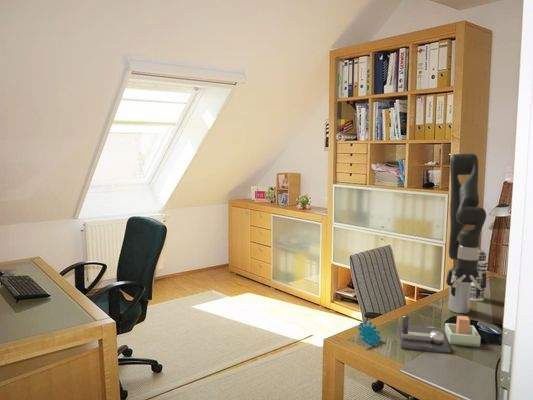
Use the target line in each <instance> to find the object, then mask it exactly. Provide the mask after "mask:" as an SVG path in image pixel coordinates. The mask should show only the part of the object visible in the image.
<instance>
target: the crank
mask: <svg viewBox="0 0 533 400" xmlns="http://www.w3.org/2000/svg"><path fill="white" fill-rule="evenodd" d="M409 321H410V317H409V315H405V314H404V315H403V316H402V324H403V325H402V338H410V339H420V340H430V341H431V342H433V343H436V344H442V343H443V342H444V336H445V333H444V332H443V331H442V332H443V333H442V332H439V331H431V332H430V334H428V333H418V332H408V325H409Z"/></svg>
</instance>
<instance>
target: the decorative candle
mask: <svg viewBox="0 0 533 400" xmlns="http://www.w3.org/2000/svg"><path fill="white" fill-rule="evenodd" d="M487 265H488V262H487V253H486V252H485V251H484V250H482V249H479V258H478V270H477V271H478V272H484V273H485V274H486V275H487V269H486V268H488V266H487ZM475 280H476V281H477V283H478V284H481V278H480V276H479V275H478V277H477V278H476V279H475ZM475 288H476V286H475V284H474V283H473V282H471V295H470V301H476V302H480V301H481V302H482V301H484V300H485V292H484V291H485V289H486V288H481V290H480V297H478V298H476V297H475Z"/></svg>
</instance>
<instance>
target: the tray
mask: <svg viewBox="0 0 533 400" xmlns="http://www.w3.org/2000/svg"><path fill="white" fill-rule="evenodd" d="M456 324H457V323H449V322H447V323H446V322H445V324H444V335H445V337H446V339H447V342H448V344H450V345H456V346H457V345H459V346H466V347H467V346H470V347H481V335H480V334H479V332H478V331H477V329H476V328H475V326H474V325H471V324H470V328H469V335H463V334H456Z"/></svg>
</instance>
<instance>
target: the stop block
mask: <svg viewBox="0 0 533 400" xmlns="http://www.w3.org/2000/svg"><path fill="white" fill-rule="evenodd" d="M455 324H456V334H463V335H469V328H470V325H471V319H470V318H469V316H467V315H466V316H465V315H456V323H455Z"/></svg>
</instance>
